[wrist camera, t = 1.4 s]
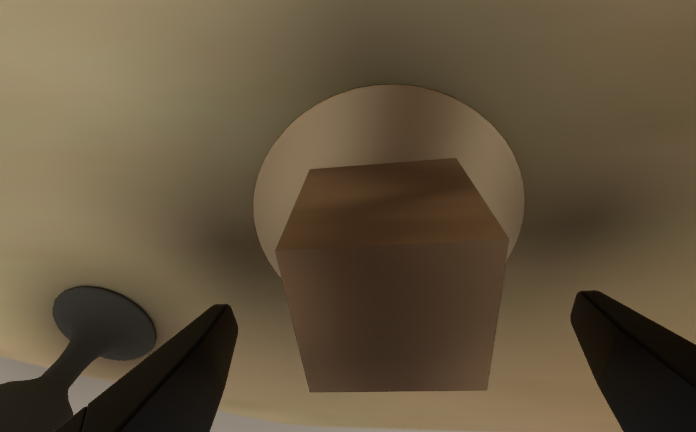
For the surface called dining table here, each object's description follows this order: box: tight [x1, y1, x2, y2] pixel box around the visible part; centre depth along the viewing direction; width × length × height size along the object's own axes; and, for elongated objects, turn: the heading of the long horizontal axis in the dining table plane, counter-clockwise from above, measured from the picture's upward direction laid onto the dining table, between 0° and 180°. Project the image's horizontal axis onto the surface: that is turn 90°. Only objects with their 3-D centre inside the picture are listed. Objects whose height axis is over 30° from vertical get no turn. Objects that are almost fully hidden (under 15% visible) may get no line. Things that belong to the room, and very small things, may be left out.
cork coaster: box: [253, 84, 525, 277], centre depth 13 cm, size 10×10×1 cm
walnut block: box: [275, 158, 509, 392], centre depth 11 cm, size 5×5×5 cm
